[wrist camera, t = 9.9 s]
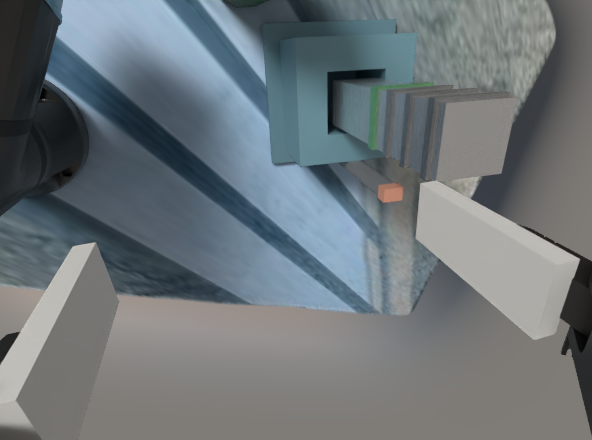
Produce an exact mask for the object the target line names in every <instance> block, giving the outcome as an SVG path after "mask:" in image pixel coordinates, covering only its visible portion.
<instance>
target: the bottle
mask: <svg viewBox="0 0 592 440" xmlns="http://www.w3.org/2000/svg"><path fill="white" fill-rule="evenodd" d="M224 1H226V2H228V3H230V4H232V5H233V6H235V7H237V8H239V7H252V6H257V5H259V4H262V3H264V2H266V1H268V0H224Z"/></svg>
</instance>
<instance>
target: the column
mask: <svg viewBox="0 0 592 440" xmlns="http://www.w3.org/2000/svg"><path fill="white" fill-rule="evenodd" d="M478 90H479V89H478V88H463V89H453V85H439V86H433V83H429V82H424V83H408V82H401V81H393V80H386V79H379V78H362V79H347V80H333V125H335V126H336V127H338V128H340V129H342V130H344V131H345V132H347V133H349V134H351V135H353V136H354V137H356V138H358V139H360V140H362V141H363V142H365V143H367V144H368V148H370V149H371V150H380V151H381V152H383V156H384V157H385V158H391V157H392V158H394V159H396V160H398V161H400V164H399V166H401V167H403V168H409V167H410V168H412V169H414V170H416V171H418V172H419V173H420V178H422V179H424V180H434V181H445V180H453V179H461V178H469V177H477V176H485V175H492V174H501V172H502V168H503V163H504V158H505V154H506V149H507V145H508V140H509V135H510V131H511V126H512V121H513V117H514V112H515V107H516V103H517V98H518V97H511V96H509V94H510V92H502V91H501V92H488V93H482V92H478Z"/></svg>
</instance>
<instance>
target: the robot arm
mask: <svg viewBox="0 0 592 440" xmlns="http://www.w3.org/2000/svg"><path fill="white" fill-rule="evenodd" d="M62 3H63V0H0V216H1V215H2V214H4V213H5V212H6V211H7V210H9V209H10V208H11V207H13V206H14V205H15V204H16V203H18V202H19V201H20V200H21V199H23V198H24V197H31V196H39V195H44V194H47V193H50V192H53V191H55V190H57V189H59V188H61V187H63V186H64V185H66V184H67V183H68V182H69V181H71V180H72V179H73V178H74V177H75V176H76V175H77V174H78V173H79V172H80V170H81V169H82V167H83V165H84V163H85V161H86V158H87V155H88V149H89V139H88V132H87V128H86V125H85V123H84V120H83V118H82V116H81V114H80V112H79V111H78V109H77V108H76V106H75V105H74V104H73V102H72V101H71V100H70V99H69V98H68V97H67V96H66V95H65V94H64V93H63V92H62V91H61V90H60V89H58V88H57V87H56V86H54V85H53V84H52V83H50V82H48V81H47V80H45V75H46V72H47V68H48V64H49V60H50V56H51V53H52V49H53V45H54V41H55V37H56V34H57V30H58V26H59V25H61V23H62V14H61V8H62ZM416 239H417V240H418V241H419V242H421V243H422V244H423V245H424V246H425V247H426V248H428V249H429V250H430V251H431V252H432V253H433V254H435V255H436V256H437V257H438V258H439V259H440V260H442V261H443V262H444V263H445V264H446V265H447V266H449V267H450V268H451V269H452V270H453V271H454V272H456V273H457V274H458V275H459V276H460V277H462V278H463V279H464V280H465V281H466V282H467V283H468V284H470V285H471V286H472V287H473V288H474V289H475V290H477V291H478V292H479V293H480V294H481V295H483V297H485V298H486V299H487V300H488V301H489V302H490V303H492V304H493V305H494V306H495V307H496V308H497V309H499V310H500V311H501V312H502V313H503V314H505V315H506V316H507V317H508V318H509V319H510V320H511V321H513V322H514V323H515V324H516V325H517V326H518V327H520V328H521V329H522V330H523V331H524V332H525V333H527V334H528V335H529V336H530V337H531V338H532V339H534V340H536V339H539V338H543V337H546V336H549V335H553V334H555V332H556V329H557V326H558V323H559V320H560V318H561V319H563V320H564V321H565V322H566V323H568V324H569V325H570V327H569V331H568V333H567V336H566V339H565V341H564V344H563V347H562V351H561V354H562V355H566V352H567V350H568V349H570V348H571V351H572V357H573V360H574V364H575V368H576V372H577V376H578V380H579V385H580V389H581V393H582V397H583V401H584V405H585V410H586V413H587V417H588V422H589V426H590V430H591V434H592V261H590V260H588V259H587V258H585V257H583V256H581V255H579V254H577V253H575V252H574V251H572V250H570V249H568V248H566V247H564V246H562V245H560V244H558V243H555V242H554V241H553V240H551V239H549V238H547V237H544V236H543V235H542V234H540V233H538V232H536V231H534V230H532V229H531V228H528V227H524V226H521V225H518V224H515V223H513V222H511V221H509V220H508V219H506V218H504V217H502V216H500V215H498V214H496V213H495V212H493V211H491V210H489V209H487V208H485V207H484V206H482V205H480V204H478V203H476V202H475V201H473V200H471V199H469V198H467V197H465V196H464V195H462V194H460V193H458V192H456V191H455V190H453V189H451V188H449V187H447V186H445V185H444V184H442V183H440V182H438V181H431V182H425V183H420V195H419V207H418V218H417V230H416ZM118 303H119V300H118V298H117V295H116V293H115V290H114V287H113V285H112V282H111V280H110V277H109V275H108V272H107V269H106V267H105V264H104V262H103V259H102V257H101V254H100V252H99V249H98V246H97V244H96V242H94V243H89V244H83V245H78V246H73V247H72V249H71V251H70V252H69V254H68V255H67V257H66V259H65V260H64V262H63V264H62V265H61V267H60V268H59V270H58V272H57V273H56V275H55V277H54V278H53V280H52V282H51V283H50V285H49V286H48V288H47V290H46V291H45V293H44V295H43V296H42V298H41V299H40V301H39V303H38V304H37V306H36V308H35V309H34V311H33V313H32V314H31V316H30V317H29V319H28V321H27V322H26V324H25V326H24V327H23V329H22V330H21V332H16V333H12V334H8V335H6V336H5V337H4V338H3V339H1V340H0V440H78V438H79V435H80V431H81V428H82V424H83V421H84V418H85V414H86V411H87V407H88V404H89V401H90V398H91V394H92V391H93V387H94V384H95V381H96V377H97V374H98V371H99V367H100V364H101V361H102V357H103V354H104V351H105V347H106V343H107V340H108V337H109V334H110V330H111V327H112V323H113V320H114V317H115V314H116V310H117V307H118Z"/></svg>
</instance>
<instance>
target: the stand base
mask: <svg viewBox="0 0 592 440" xmlns="http://www.w3.org/2000/svg"><path fill="white" fill-rule="evenodd" d="M395 31H396V19H388V20H356V21H325V22H294V23H263V24H262V33H263V47H264V60H265V74H266V88H267V101H268V115H269V129H270V142H271V156H272V163H273V164H276V163H286V162H295V161H296V162H297V164H298V165H299V166H300V167H302V166H311V165H321V164H330V163H339V164H341V165H342V166H343V167H344V168H345V169H347V170H348V171H349V172H350V173H352V174H353V175H354V176H355V177H356V178H358V179H359V180H360V181H361V182H362V183H364V184H365V185H366V186H367V187H369V188H370V189H371V190H372V191H373V192H375V193H376V194H377V195H378V198H379V199H380V200H381V201H382V202H383V203H386V202H394V201H401V200H402V197H403V187H402V186H401V185H399V184H398V183H393V182H391V181H390V180H388V179H387V178H386V177H384V176H383V175H381V174H380V173H378V172H377V171H375V170H374V169H372V168H371V167H370V166H368V165H367V164H365V163H364V162H362V161H361V160H367V159H376V158H385V157H384V156H383V152H381V151H380V150H371V149H370V148H368V144H367V143H365V142H363V141H362V140H360V139H358V138H356V137H354V136H353V135H351V134H349V133H347V132H345V131H344V130H342V129H340V128H338V127H336V126H335V125H333V80H347V79H362V78H379V79H386V80H393V81H401V82H408V83H412V82H413V71H414V60H415V49H416V38H417V33H399V34H395Z"/></svg>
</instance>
